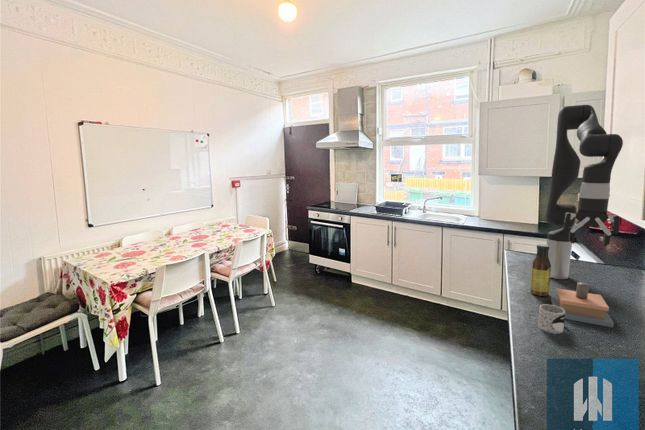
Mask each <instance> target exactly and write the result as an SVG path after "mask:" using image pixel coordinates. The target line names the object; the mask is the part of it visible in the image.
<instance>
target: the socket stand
mask: <svg viewBox="0 0 645 430" xmlns="http://www.w3.org/2000/svg"><path fill="white" fill-rule="evenodd" d="M550 302H551V305H554V306H558V307H560V308H563V309H564V310H565V320H570V321H576V322H581V323H585V324H586V323H587V324H592V325H598V326H602V327H607V328H614V324H615V322H614V321H613V319H612V318H611V316H610V314H609V313H608V311H604V310H598V309H592V308H586V307H580V306H574V305H568V304H562V303H561V302H560V299H559V296H557V297H554V296H551V298H550Z"/></svg>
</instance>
